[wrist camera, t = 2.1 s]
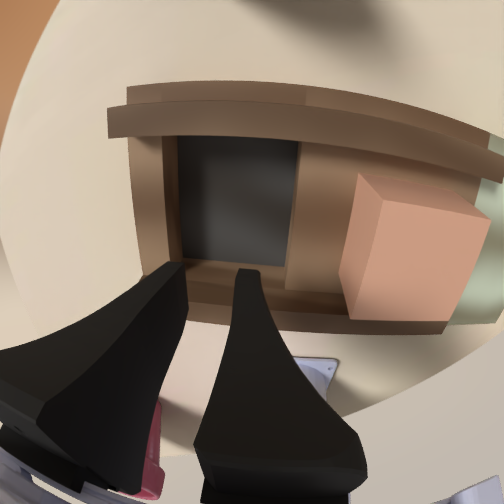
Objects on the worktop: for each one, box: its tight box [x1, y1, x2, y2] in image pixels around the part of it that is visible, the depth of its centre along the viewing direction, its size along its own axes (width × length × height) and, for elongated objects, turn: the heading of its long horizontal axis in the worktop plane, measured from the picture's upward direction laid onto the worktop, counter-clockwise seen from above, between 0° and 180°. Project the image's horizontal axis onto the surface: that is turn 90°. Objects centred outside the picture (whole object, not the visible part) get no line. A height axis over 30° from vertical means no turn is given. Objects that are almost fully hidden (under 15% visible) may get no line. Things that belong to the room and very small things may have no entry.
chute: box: [107, 81, 504, 335], centre depth 16 cm, size 14×28×5 cm, turn 87°
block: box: [338, 173, 491, 321], centre depth 13 cm, size 6×6×4 cm
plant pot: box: [119, 400, 165, 500], centre depth 27 cm, size 14×14×13 cm
